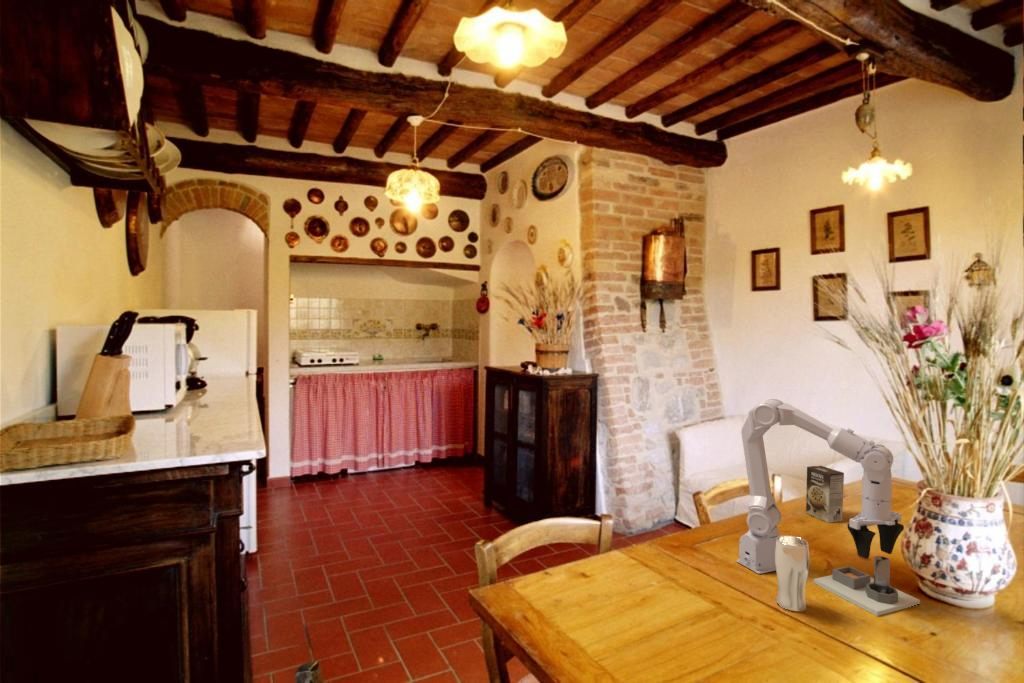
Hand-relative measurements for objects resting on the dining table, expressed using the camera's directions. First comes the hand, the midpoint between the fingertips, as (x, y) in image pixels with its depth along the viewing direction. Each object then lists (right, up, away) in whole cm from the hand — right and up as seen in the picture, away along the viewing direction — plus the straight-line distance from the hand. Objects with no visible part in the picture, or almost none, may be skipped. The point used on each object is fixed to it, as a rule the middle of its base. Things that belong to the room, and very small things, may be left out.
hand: (874, 554), depth 126 cm
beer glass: (-22, -10, -4) cm, 24 cm away
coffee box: (+18, -8, +51) cm, 55 cm away
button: (-3, -8, +5) cm, 10 cm away
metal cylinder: (0, -9, -2) cm, 9 cm away
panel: (-1, -10, +1) cm, 10 cm away
